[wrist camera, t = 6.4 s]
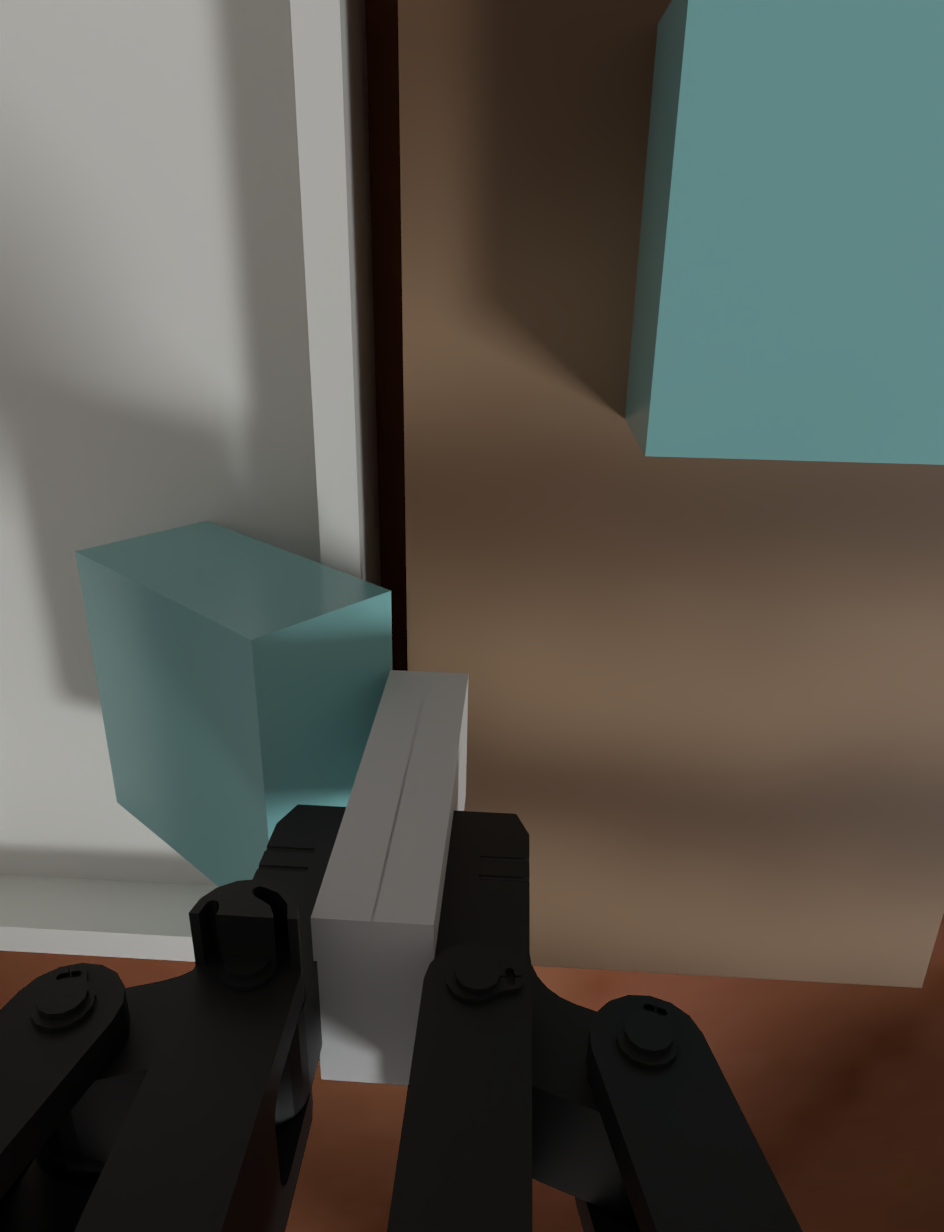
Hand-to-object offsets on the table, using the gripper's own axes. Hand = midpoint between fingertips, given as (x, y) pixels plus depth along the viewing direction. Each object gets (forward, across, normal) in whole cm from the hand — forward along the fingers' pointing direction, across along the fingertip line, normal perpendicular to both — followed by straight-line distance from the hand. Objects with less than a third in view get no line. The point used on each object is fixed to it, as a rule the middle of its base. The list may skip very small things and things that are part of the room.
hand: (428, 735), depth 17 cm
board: (+5, -5, -4) cm, 8 cm away
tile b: (+2, -6, -9) cm, 11 cm away
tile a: (+2, +3, 0) cm, 4 cm away
